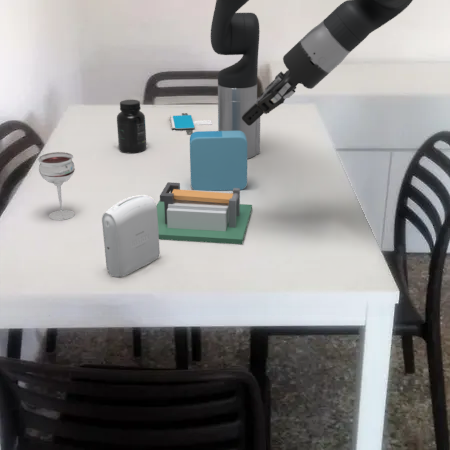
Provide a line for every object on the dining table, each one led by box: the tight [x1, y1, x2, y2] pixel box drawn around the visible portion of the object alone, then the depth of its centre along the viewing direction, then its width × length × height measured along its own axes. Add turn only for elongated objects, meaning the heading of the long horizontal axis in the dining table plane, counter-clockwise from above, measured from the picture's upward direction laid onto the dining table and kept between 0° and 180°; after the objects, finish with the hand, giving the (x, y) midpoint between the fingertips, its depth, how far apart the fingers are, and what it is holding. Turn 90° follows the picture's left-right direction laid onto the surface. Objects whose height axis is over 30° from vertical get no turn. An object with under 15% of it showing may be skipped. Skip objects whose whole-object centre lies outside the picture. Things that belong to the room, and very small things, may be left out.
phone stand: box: [168, 112, 213, 135], centre depth 200 cm, size 20×12×2 cm, turn 7°
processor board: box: [156, 182, 253, 245], centre depth 139 cm, size 19×16×7 cm
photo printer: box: [101, 194, 161, 278], centre depth 122 cm, size 10×4×12 cm, turn 140°
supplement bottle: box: [116, 99, 147, 154], centre depth 178 cm, size 7×7×12 cm
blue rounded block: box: [189, 130, 248, 192], centre depth 154 cm, size 12×4×12 cm, turn 93°
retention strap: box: [172, 189, 239, 203], centre depth 137 cm, size 1×3×13 cm
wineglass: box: [37, 151, 76, 221], centre depth 141 cm, size 7×7×12 cm
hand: (245, 121), depth 131 cm, fingers closed
